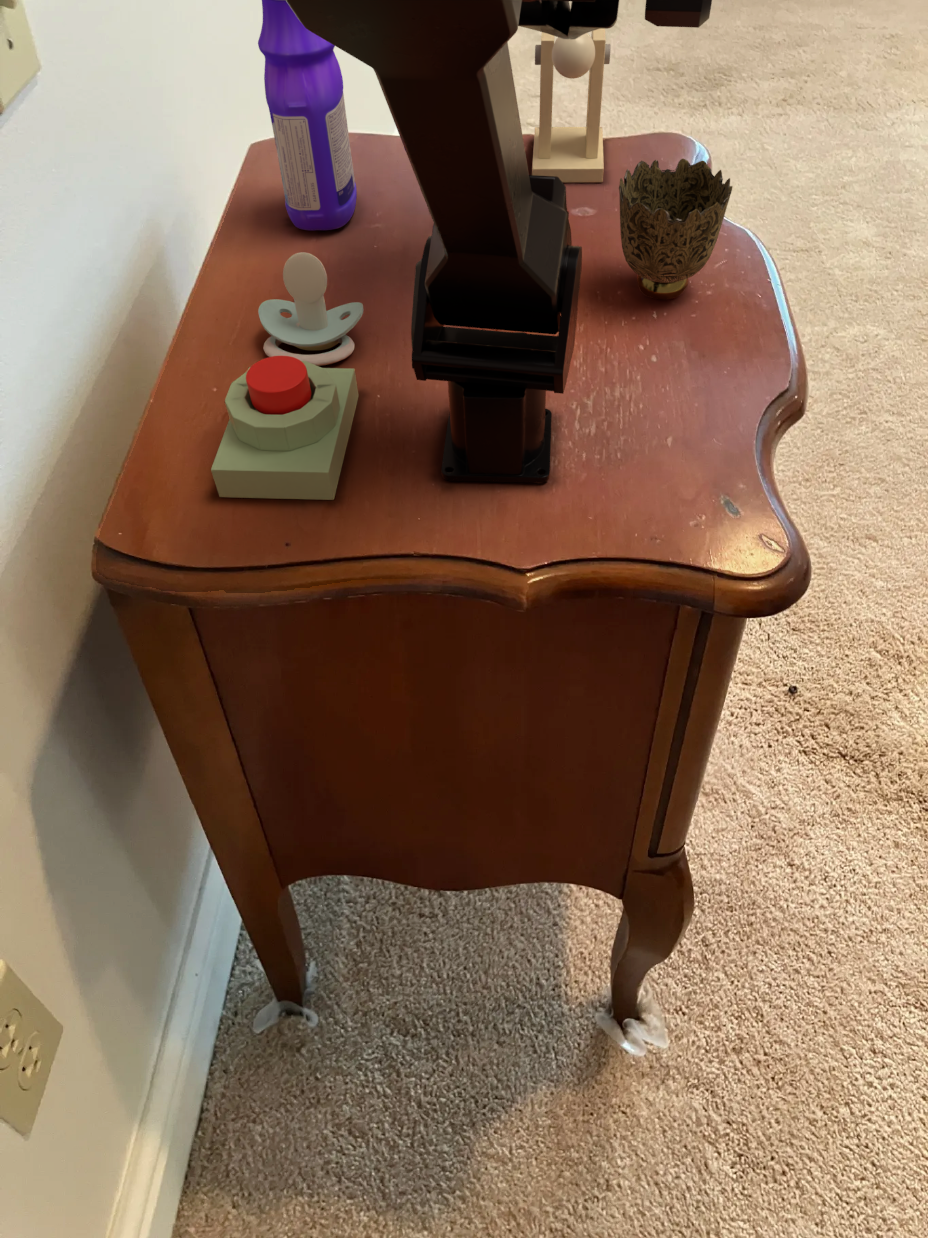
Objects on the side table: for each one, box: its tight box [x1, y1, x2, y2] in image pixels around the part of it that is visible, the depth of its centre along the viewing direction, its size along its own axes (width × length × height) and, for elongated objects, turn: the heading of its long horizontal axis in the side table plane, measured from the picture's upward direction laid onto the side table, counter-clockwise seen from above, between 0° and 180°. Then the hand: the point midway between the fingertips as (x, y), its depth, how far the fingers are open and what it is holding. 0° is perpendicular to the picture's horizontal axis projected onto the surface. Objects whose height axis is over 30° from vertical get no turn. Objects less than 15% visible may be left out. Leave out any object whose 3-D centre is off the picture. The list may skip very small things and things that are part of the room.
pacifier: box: [257, 251, 364, 367], centre depth 64 cm, size 7×6×6 cm
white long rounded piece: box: [552, 32, 595, 80], centre depth 73 cm, size 10×3×3 cm, turn 176°
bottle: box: [257, 0, 358, 231], centre depth 71 cm, size 7×6×17 cm
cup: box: [618, 158, 733, 301], centre depth 66 cm, size 8×7×8 cm
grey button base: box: [210, 361, 360, 501], centre depth 58 cm, size 10×7×4 cm
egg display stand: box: [531, 29, 611, 183], centre depth 78 cm, size 8×6×10 cm
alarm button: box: [246, 356, 311, 415], centre depth 56 cm, size 4×4×2 cm
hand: (570, 31), depth 66 cm, fingers closed
